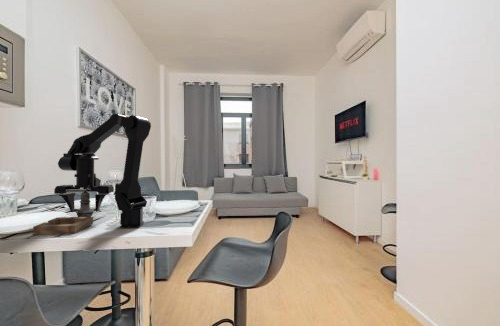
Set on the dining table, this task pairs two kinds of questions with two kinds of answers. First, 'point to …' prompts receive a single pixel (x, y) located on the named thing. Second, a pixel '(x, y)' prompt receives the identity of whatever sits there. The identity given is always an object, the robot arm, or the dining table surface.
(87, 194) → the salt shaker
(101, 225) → the dining table surface
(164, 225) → the dining table surface
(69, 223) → the wooden tray
